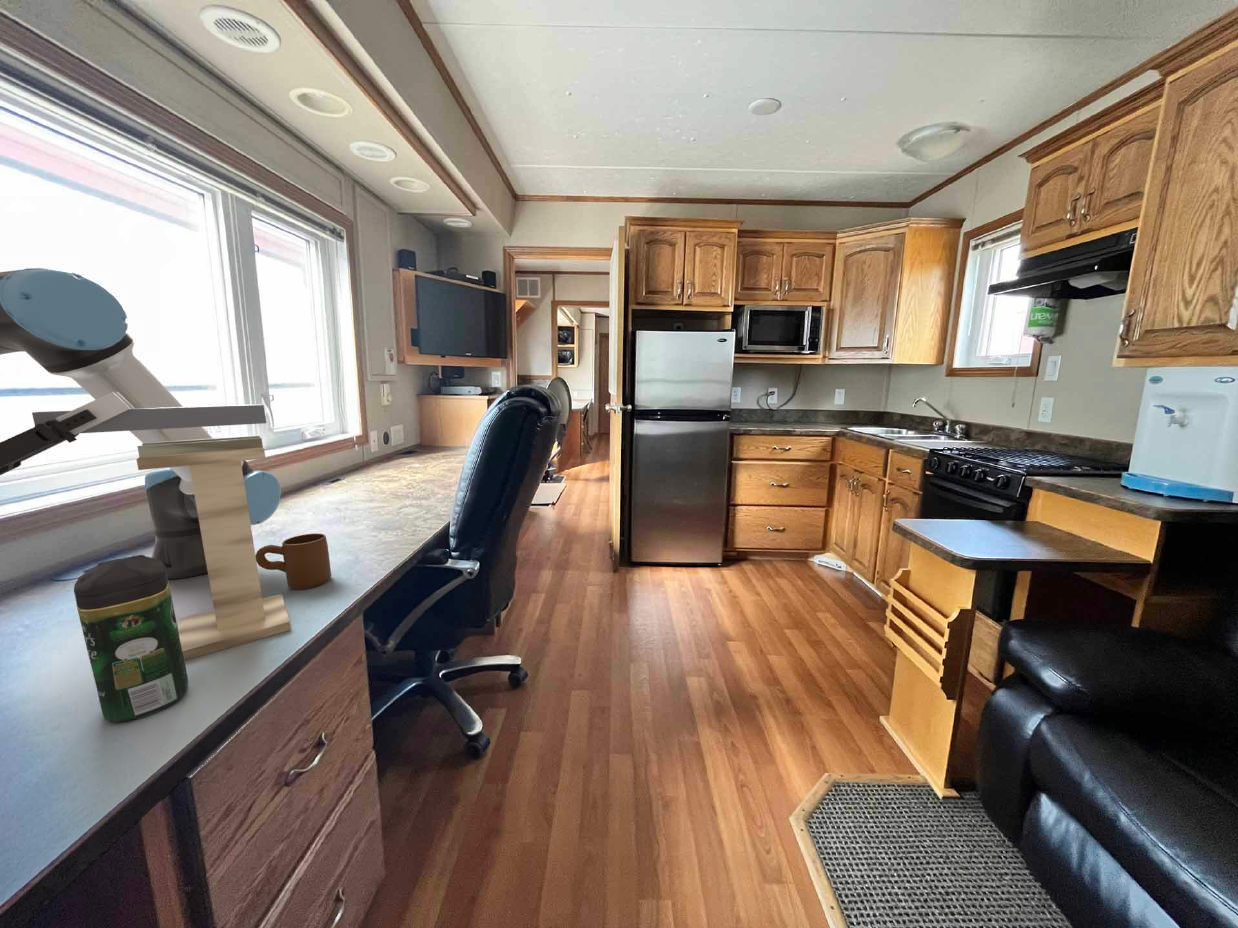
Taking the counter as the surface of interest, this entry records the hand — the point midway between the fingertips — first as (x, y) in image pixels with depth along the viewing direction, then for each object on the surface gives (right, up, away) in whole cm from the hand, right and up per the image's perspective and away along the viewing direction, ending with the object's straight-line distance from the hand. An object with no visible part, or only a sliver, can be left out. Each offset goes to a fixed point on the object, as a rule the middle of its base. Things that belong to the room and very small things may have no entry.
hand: (123, 400), depth 66 cm
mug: (+5, -34, +28) cm, 44 cm away
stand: (+7, -36, +11) cm, 39 cm away
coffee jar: (+10, -40, -6) cm, 41 cm away
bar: (+3, -4, +3) cm, 6 cm away
